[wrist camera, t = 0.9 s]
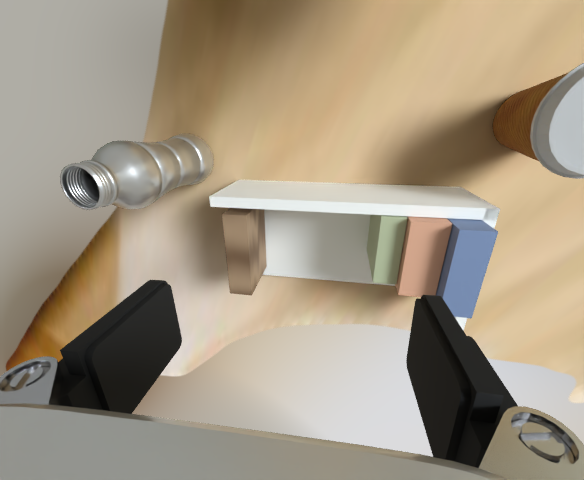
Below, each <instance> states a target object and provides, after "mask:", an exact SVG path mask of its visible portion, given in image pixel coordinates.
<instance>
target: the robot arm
mask: <svg viewBox="0 0 584 480" xmlns="http://www.w3.org/2000/svg"><path fill="white" fill-rule="evenodd" d="M181 342H182V338H181V333H180V328H179V323H178V318H177V313H176V309H175V304H174V299H173V294H172V289H171V286H170V285H169V284H167V282H166V281H162V280H149V281H148V282H146V283H145V284H144V285H143V286H141V287H140V288H139V289H137V290H136V291H135V292H134V293H132V294H131V295H130V296H129V297H127V298H126V299H125V300H123V301H122V302H121V303H120V304H118V305H117V306H116V307H115V308H113V309H112V310H111V311H109V312H108V313H107V314H106V315H104V316H103V317H102V318H101V319H99V320H98V321H97V322H95V323H94V324H93V325H92V326H90V327H89V328H88V329H87V330H85V331H84V332H83V333H81V334H80V335H79V336H78V337H76V338H75V339H74V340H73V341H71V342H70V343H69V344H67V345H66V346H65V347H64V348H62V349H61V350H60V351H61V354H62V356H63V359H62V360H61V361H59V362H58V361H57V360H56V359H55V358H53V357H39V358H35V359H31V360H29V361H26V362H23V363H21V364H19V365H17V366H15V367H13V368H12V369H10V370H9V371H7V372H6V373H4V374H3V375H2V376H1V377H0V480H584V445H583V443H582V442H581V441H580V440H579V439H578V437H577V436H576V435H575V434H574V433H573V432H572V431H571V430H570V429H568V428H567V427H566V426H565V425H564V424H562V423H561V422H559V421H558V420H556V419H555V418H553V417H551V416H550V415H548V414H545V413H543V412H541V411H539V410H536V409H532V408H528V407H518V406H517V404H516V402H515V401H514V400H513V398H512V396H511V395H510V393H509V392H508V390H507V389H506V387H505V386H504V384H503V383H502V381H501V380H500V378H499V377H498V375H497V374H496V372H495V371H494V370H493V368H492V366H491V365H490V363H489V362H488V360H487V358H486V357H485V355H484V354H483V352H482V351H481V349H480V348H479V346H478V345H477V343H476V342H475V340H474V339H473V338H472V337H470V336H466V334H465V333H464V331H463V330H462V328H461V326H460V325H459V323H458V322H457V320H456V319H455V317H454V315H453V314H452V312H451V311H450V309H449V308H448V306H447V304H446V303H445V301H444V300H443V298H442V297H441V296H437V295H422V297H421V299H416V301H415V307H414V313H413V320H412V327H411V333H410V340H409V346H408V354H407V369H408V373H409V376H410V379H411V383H412V386H413V390H414V393H415V396H416V399H417V403H418V407H419V410H420V413H421V417H422V420H423V423H424V426H425V430H426V433H427V437H428V440H429V444H430V447H431V450H432V454H433V457H430V456H425V455H421V454H414V453H408V452H402V451H395V450H389V449H382V448H376V447H370V446H364V445H357V444H350V443H343V442H336V441H329V440H322V439H314V438H307V437H300V436H293V435H286V434H278V433H272V432H264V431H257V430H249V429H242V428H234V427H227V426H220V425H213V424H205V423H197V422H190V421H182V420H175V419H167V418H159V417H152V416H144V415H136V414H132V412H133V411H134V410H135V408H136V407H137V406H138V404H139V403H140V401H141V400H142V398H143V397H144V396H145V395H146V393H147V392H148V390H149V389H150V388H151V386H152V385H153V384H154V382H155V381H156V379H157V378H158V377H159V375H160V374H161V373H162V371H163V370H164V369H165V367H166V366H167V365H168V363H169V362H170V360H171V359H172V358H173V356H174V355H175V354H176V352H177V351H178V350H179V348H180V346H181Z"/></svg>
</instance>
